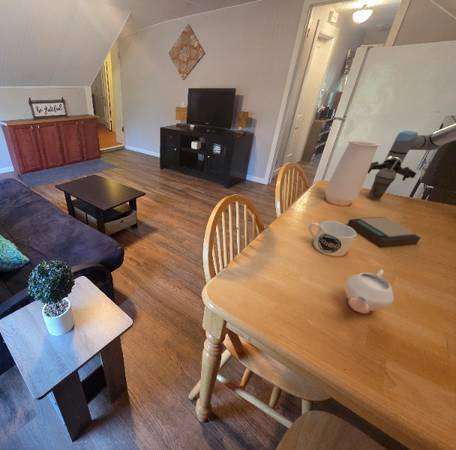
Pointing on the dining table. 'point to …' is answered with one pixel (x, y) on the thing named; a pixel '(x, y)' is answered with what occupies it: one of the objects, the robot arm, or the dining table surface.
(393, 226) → the scale
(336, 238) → the mug
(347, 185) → the vase
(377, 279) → the teapot
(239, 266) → the dining table surface
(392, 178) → the beverage cup
